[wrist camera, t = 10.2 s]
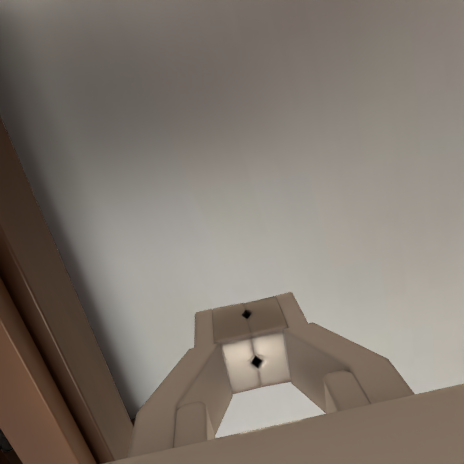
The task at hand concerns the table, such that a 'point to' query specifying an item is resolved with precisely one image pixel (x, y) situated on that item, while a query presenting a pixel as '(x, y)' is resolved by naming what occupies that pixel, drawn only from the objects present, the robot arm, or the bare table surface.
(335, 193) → the table surface
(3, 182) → the shoe rack
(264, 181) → the table surface
